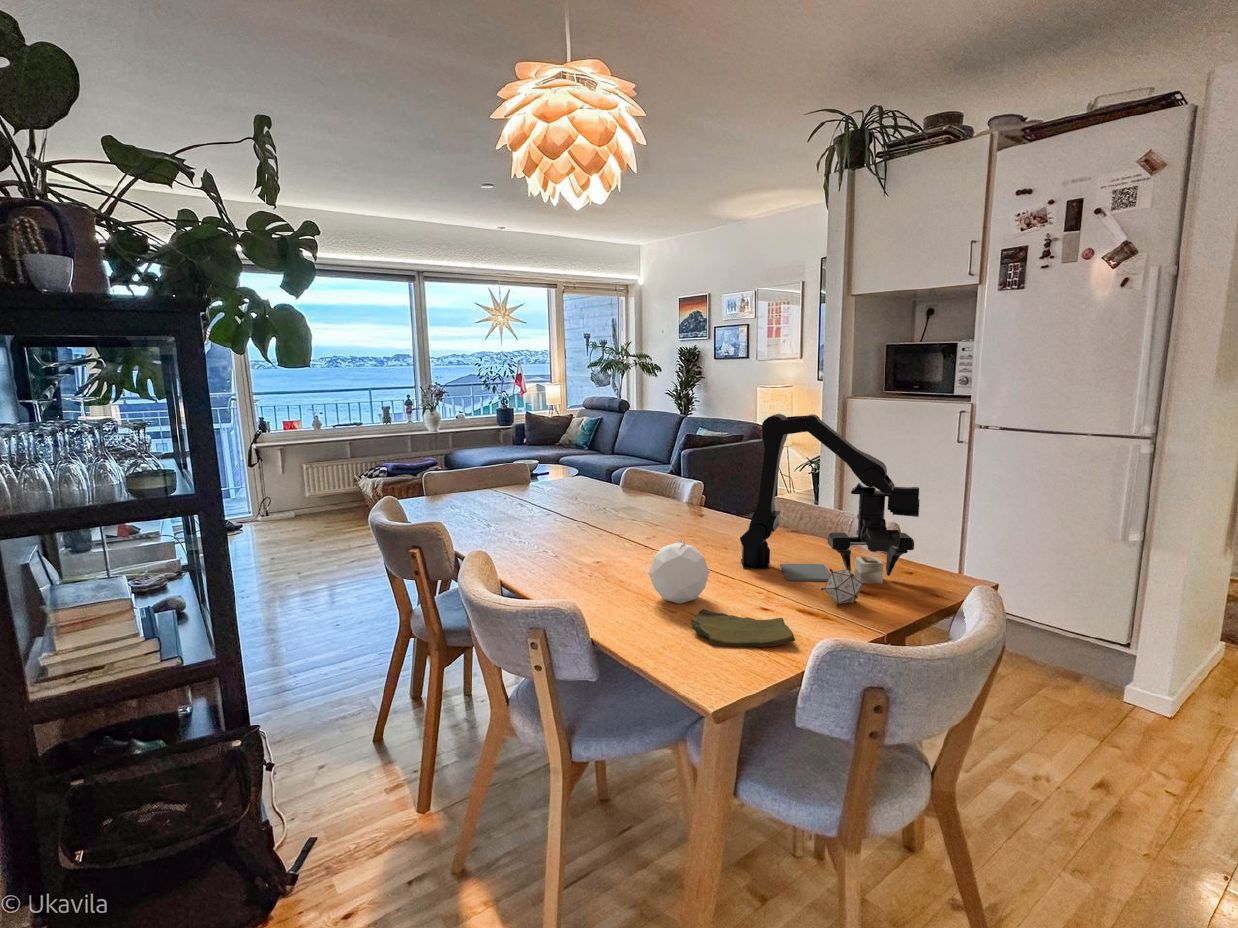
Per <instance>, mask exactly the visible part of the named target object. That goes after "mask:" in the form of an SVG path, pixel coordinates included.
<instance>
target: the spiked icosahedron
mask: <svg viewBox="0 0 1238 928" xmlns="http://www.w3.org/2000/svg"><path fill="white" fill-rule="evenodd" d="M849 569H850V566H849V567H848V568H847V570H846V569H843V570H835V571H833V569H831V568H830V569H829V573H830V574H831V575H830V577H829V579H828V581H826V584H825V585H824V587H821V588H820V590H821V591H825V592H826V593H827V594H828V595H829V596H830V597H831V598H832V600H834V601H835V602H836V608H839V607H840V604H847V603H852V602H853V603H854V604H855V605H858V601H856V599H859V597H858V595H859V594H860V591H861V589H862V587H863V586H866V585H867V584H868V583H861V582H860V581H859V580H858V579H857V577H856V576H855V573H853V572H852V570H851V571H850V570H849Z"/></svg>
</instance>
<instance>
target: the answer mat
mask: <svg viewBox="0 0 1238 928" xmlns="http://www.w3.org/2000/svg"><path fill="white" fill-rule="evenodd" d="M779 567H780V568H781V571H782V572H783V575H784V576H785V578H786V579H785V580H786V581H788V582H827V581H828V579H829V577H830V575H831V572H830V570H828V568H827V567H826V566H825V564H823V563H780V564H779Z"/></svg>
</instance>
